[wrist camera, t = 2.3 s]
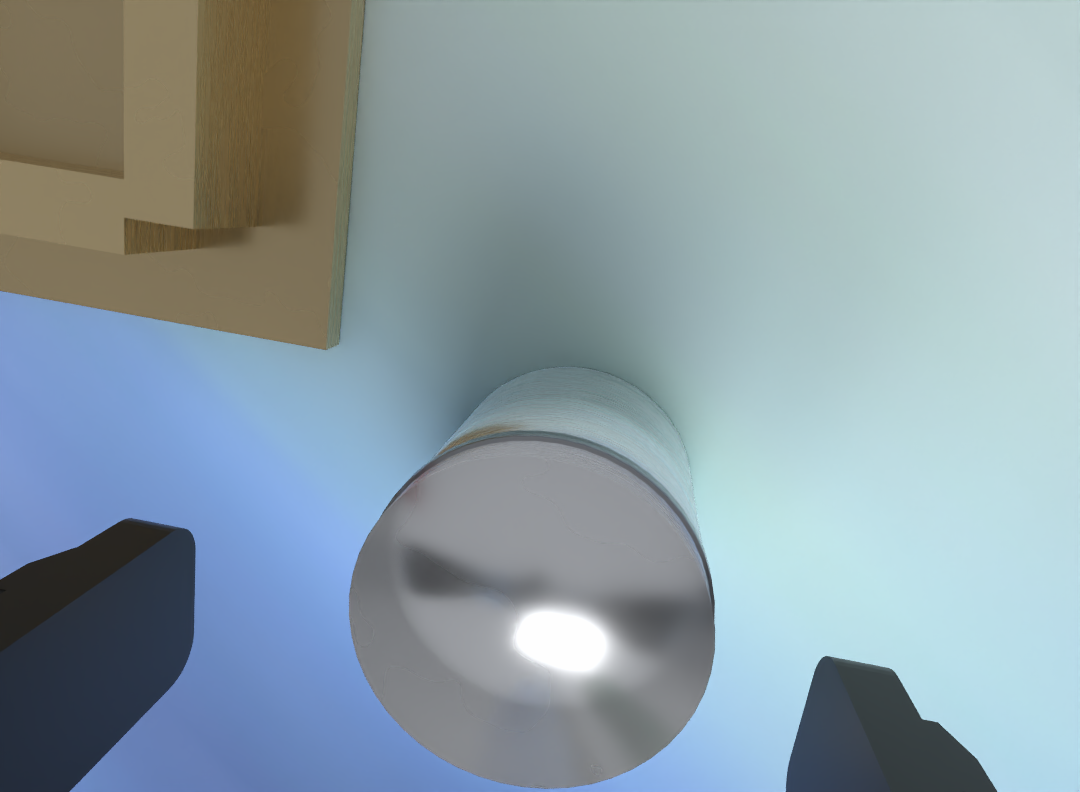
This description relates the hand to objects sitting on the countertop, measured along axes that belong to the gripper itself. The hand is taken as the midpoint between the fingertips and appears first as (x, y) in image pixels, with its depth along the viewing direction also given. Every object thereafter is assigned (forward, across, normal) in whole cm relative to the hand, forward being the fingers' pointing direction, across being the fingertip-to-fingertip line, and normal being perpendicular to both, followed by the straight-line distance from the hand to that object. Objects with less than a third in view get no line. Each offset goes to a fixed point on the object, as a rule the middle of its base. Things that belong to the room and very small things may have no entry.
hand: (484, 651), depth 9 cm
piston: (+6, -1, 0) cm, 6 cm away
